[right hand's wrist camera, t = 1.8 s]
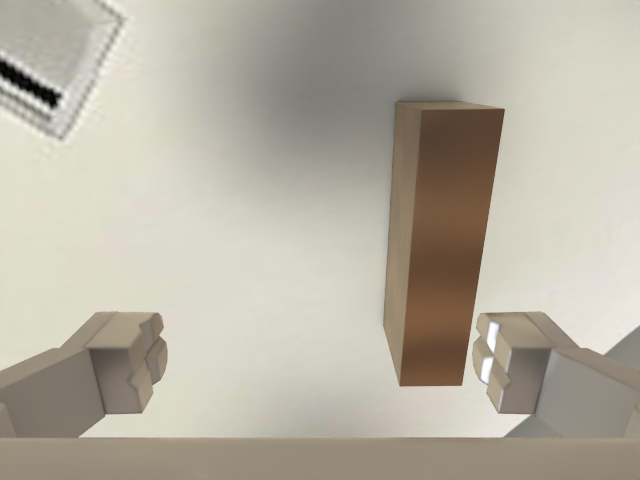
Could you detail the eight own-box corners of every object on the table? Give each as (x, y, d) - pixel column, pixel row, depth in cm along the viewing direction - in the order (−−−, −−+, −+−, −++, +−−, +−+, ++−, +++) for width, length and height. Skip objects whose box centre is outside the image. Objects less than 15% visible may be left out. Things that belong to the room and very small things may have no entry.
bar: (396, 101, 33) (421, 109, 25) (458, 101, 33) (505, 108, 25) (383, 325, 42) (399, 386, 33) (433, 324, 42) (462, 386, 33)
